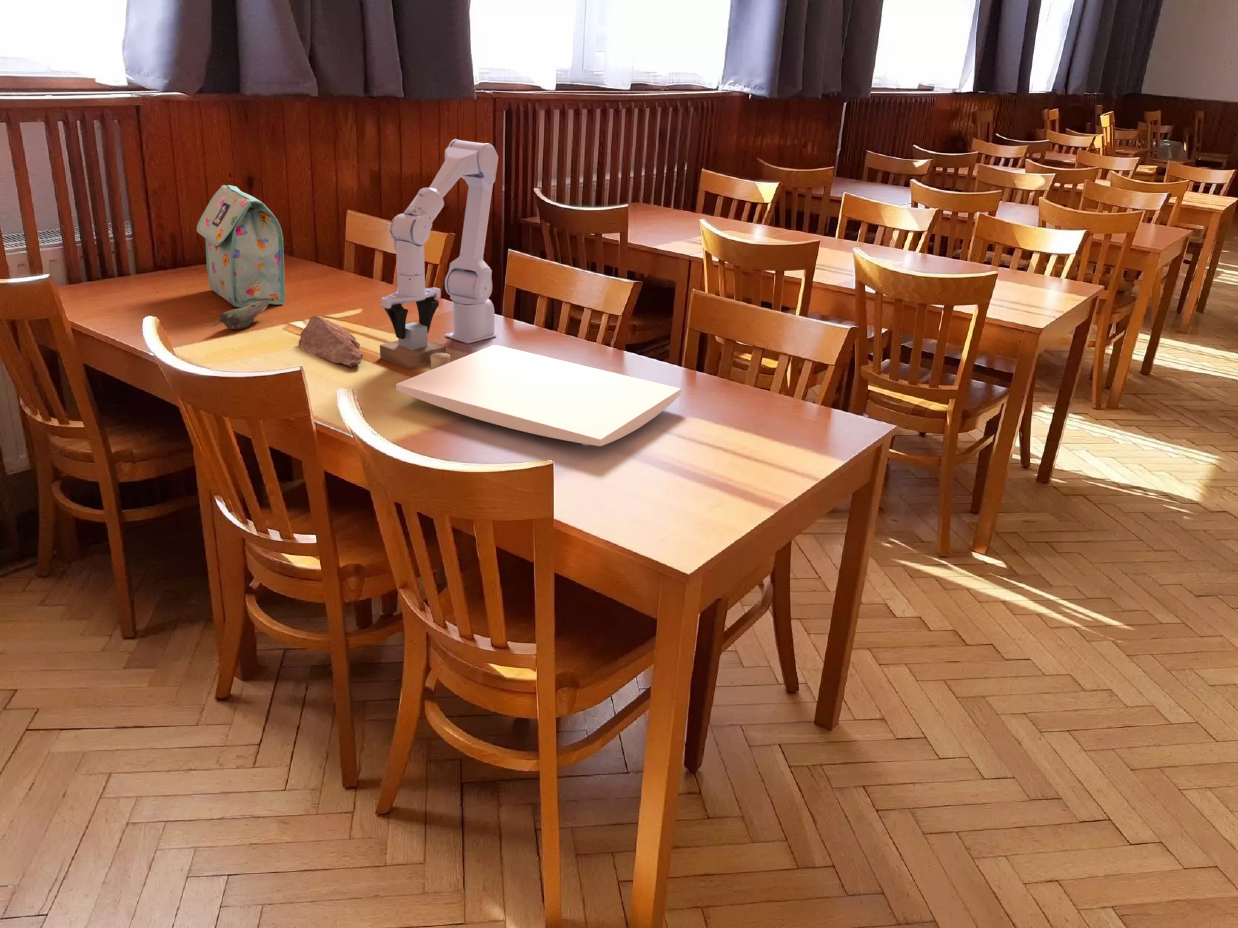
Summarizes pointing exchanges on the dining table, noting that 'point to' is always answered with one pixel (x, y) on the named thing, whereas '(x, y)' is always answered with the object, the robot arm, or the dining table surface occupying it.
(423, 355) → the walnut base
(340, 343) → the rock
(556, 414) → the board
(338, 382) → the dining table surface
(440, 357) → the beech cylinder
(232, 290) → the lunch bag
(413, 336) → the grey cube
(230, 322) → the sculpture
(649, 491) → the dining table surface
